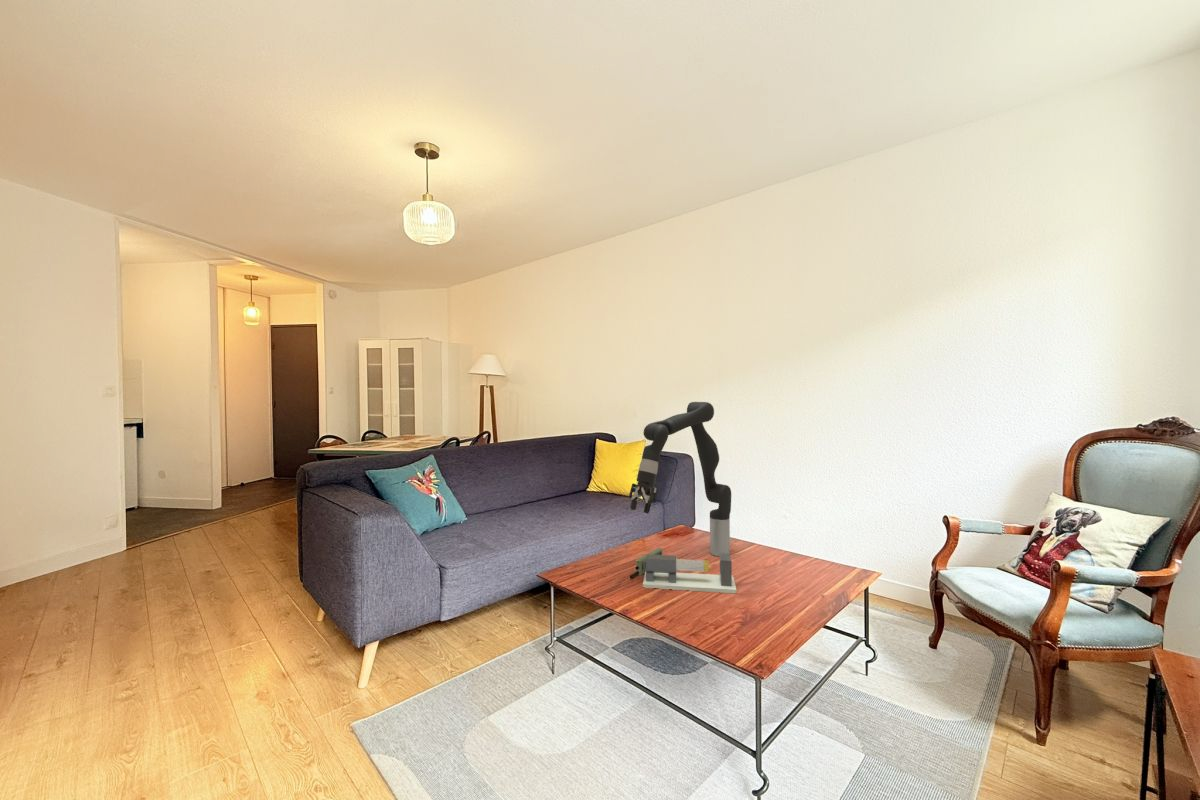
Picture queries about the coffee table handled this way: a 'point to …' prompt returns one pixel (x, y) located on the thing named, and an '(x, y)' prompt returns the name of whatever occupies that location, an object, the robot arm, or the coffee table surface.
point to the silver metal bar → (692, 565)
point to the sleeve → (661, 566)
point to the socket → (725, 570)
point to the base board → (690, 583)
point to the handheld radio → (644, 562)
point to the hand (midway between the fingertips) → (639, 511)
